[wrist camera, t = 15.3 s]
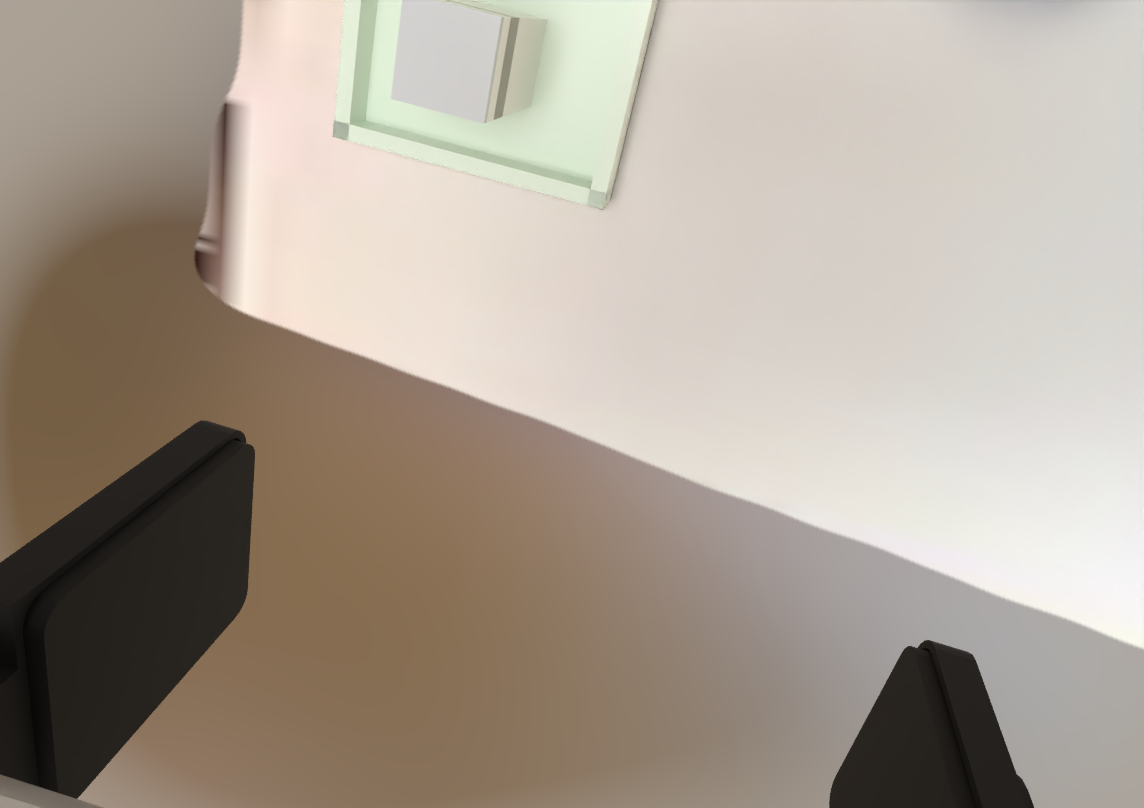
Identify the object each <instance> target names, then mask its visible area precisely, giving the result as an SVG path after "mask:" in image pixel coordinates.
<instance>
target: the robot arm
mask: <svg viewBox="0 0 1144 808" xmlns="http://www.w3.org/2000/svg"><path fill="white" fill-rule="evenodd" d="M254 463H255V450H254V448H253V446H251V445H249V444H246V438H245V435H244V434H243V433H242V432H241V431H238V430H235V429H232V428H229V427H225V426H222V425H219V424H216V423H212V422H209V421H199V422H197V423H195V424H194V425H193V426H191V427H190V428H188V429H187V430H186V431H184V432H183V433H181V434H180V435H179V436H177V437H176V438H174V439H173V440H172V441H170V442H169V443H167V444H166V445H165V446H163V447H162V448H160V449H159V450H158V451H156V452H155V453H153V454H152V455H151V456H149V457H148V458H147V459H145V460H144V461H142V462H141V463H140V464H138V465H137V466H135V467H134V468H133V469H131V470H130V471H128V472H127V473H125V474H124V475H123V476H121V477H120V478H118V479H117V480H116V481H114V482H113V483H111V484H110V485H109V486H107V487H106V488H104V489H103V490H102V491H100V492H99V493H98V494H96V495H95V496H93V497H92V498H90V499H89V500H88V501H86V502H85V503H83V504H82V505H81V506H79V507H78V508H76V509H75V510H74V511H72V512H71V513H69V514H68V515H67V516H65V517H64V518H63V519H61V520H60V521H58V522H57V523H55V524H54V525H53V526H51V527H50V528H48V529H47V530H46V531H44V532H43V533H41V534H40V535H39V536H37V537H36V538H34V539H33V540H32V541H30V542H29V543H27V544H26V545H25V546H23V547H22V548H20V549H19V550H18V551H16V552H15V553H13V554H12V555H11V556H9V557H8V558H6V559H5V560H4V561H2V562H1V563H0V808H103V807H100V806H97V805H94V804H91V803H87V802H84V801H81V800H78V799H77V798H78V797H79V796H80V795H81V794H82V793H83V792H84V790H85V789H86V788H87V787H88V786H89V785H90V784H91V782H92V781H93V780H94V779H95V778H96V776H98V774H99V773H100V772H101V771H102V770H103V769H104V768H105V766H106V765H107V764H108V763H109V762H110V760H111V759H112V758H113V757H114V756H115V755H116V754H117V753H118V751H119V750H120V749H121V748H122V747H123V746H124V744H125V743H126V742H127V741H128V740H129V739H130V738H131V737H132V735H133V734H134V733H135V732H136V731H137V730H138V729H139V727H140V726H141V725H142V724H143V723H144V722H145V720H146V719H147V718H148V717H149V716H150V715H151V714H152V712H153V711H154V710H155V709H156V708H157V707H158V706H159V704H160V703H161V702H162V701H163V700H164V699H165V698H166V696H167V695H168V694H169V693H170V692H171V691H172V690H173V688H174V687H175V686H176V685H177V684H178V683H179V682H180V680H181V679H182V678H183V677H184V676H185V675H186V674H187V672H188V671H189V670H190V669H191V668H192V667H193V665H194V664H195V663H196V662H197V661H198V660H199V659H200V657H201V656H202V655H203V654H204V653H205V651H207V649H208V648H209V647H210V646H211V645H212V644H213V643H214V641H215V640H216V639H217V638H218V637H219V636H220V634H221V633H222V632H223V631H224V630H225V629H226V628H227V627H228V625H229V624H230V623H231V622H232V621H233V620H234V618H235V617H236V616H237V614H238V613H239V612H240V610H241V608H242V606H243V604H244V602H245V599H246V595H247V590H248V573H249V554H250V536H251V518H252V499H253V481H254ZM829 805H830V808H1034V806H1033V803H1032V800H1031V798H1030V795H1029V792H1028V790H1027V788H1026V786H1025V784H1024V782H1023V780H1022V779H1021V778H1020V777H1019V776H1018V775H1017V774H1016V771H1015V769H1014V766H1013V763H1012V761H1011V758H1010V755H1009V752H1008V749H1007V746H1006V744H1005V741H1004V738H1003V735H1002V732H1001V730H1000V727H999V724H998V721H997V718H996V716H995V713H994V710H993V707H992V705H991V702H990V699H989V696H988V693H987V691H986V688H985V685H984V682H983V679H982V677H981V674H980V671H979V668H978V665H977V663H976V660H975V658H974V656H973V655H972V654H970V653H969V652H966V651H963V650H959V649H956V648H953V647H950V646H946V645H943V644H939V643H936V642H933V641H930V640H926V641H924V642H923V643H921V644H920V646H919V647H918V648H915V647H912V646H908V647H907V648H905V649H904V651H903V652H902V654H901V656H900V658H899V659H898V661H897V663H896V665H895V667H894V669H893V670H892V672H891V674H890V676H889V678H888V680H887V681H886V684H885V685H884V687H883V689H882V691H881V693H880V695H879V696H878V699H877V700H876V702H875V704H874V706H873V708H872V710H871V712H870V713H869V715H868V717H867V719H866V721H865V723H864V724H863V726H862V728H861V730H860V732H859V734H858V736H857V738H856V739H855V741H854V743H853V745H852V747H851V749H850V751H849V753H848V754H847V756H846V758H845V760H844V762H843V764H842V766H841V767H840V769H839V771H838V773H837V775H836V777H835V779H834V781H833V785H832V788H831V793H830V802H829Z"/></svg>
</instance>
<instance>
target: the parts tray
mask: <svg viewBox="0 0 1144 808" xmlns="http://www.w3.org/2000/svg"><path fill="white" fill-rule="evenodd" d="M474 1H478V2H482V3H486V4H490V5H494V6H498V7H501V8H505V9H509V10H513V11H517V12H521V13H525V14H529V15H533V16H537V17H541V18H545V19H547V23H546V28H545V34H544V39H543V44H542V49H541V55H540V60H539V65H538V71H537V76H536V81H535V87H534V92H533V97H532V102H531V107H529V108H526V109H523V110H520V111H517V112H515V113H512V114H509V115H506V116H504V117H501V118H498V119H495V120H492V121H490V122H487V123H480V122H476V121H472V120H468V119H465V118H461V117H457V116H453V115H450V114H446V113H442V112H438V111H435V110H431V109H427V108H423V107H419V106H416V105H412V104H408V103H404V102H401V101H397V100H393V99H391V94H392V85H393V77H394V68H395V59H396V51H397V42H398V33H399V25H400V16H401V7H402V0H345V1H344V12H343V24H342V35H341V47H340V59H339V70H338V82H337V93H336V105H335V116H334V128H333V137H336V138H340V139H344V140H347V141H351V142H355V143H358V144H362V145H366V146H369V147H373V148H377V149H380V150H384V151H388V152H392V153H395V154H399V155H403V156H406V157H410V158H414V159H417V160H421V161H425V162H429V163H432V164H436V165H440V166H443V167H447V168H451V169H454V170H458V171H462V172H465V173H469V174H473V175H477V176H480V177H484V178H488V179H491V180H495V181H499V182H502V183H506V184H510V185H513V186H517V187H521V188H525V189H528V190H532V191H536V192H539V193H543V194H547V195H550V196H554V197H558V198H561V199H565V200H569V201H573V202H576V203H580V204H584V205H587V206H591V207H595V208H598V209H602V210H603V208H604V207H605V206H606V205H607V203H608V202H609V201H610V199H611V195H612V191H613V186H614V182H615V178H616V174H617V170H618V166H619V162H620V158H621V153H622V149H623V145H624V141H625V137H626V133H627V129H628V124H629V120H630V116H631V112H632V108H633V104H634V100H635V96H636V91H637V87H638V83H639V79H640V75H641V71H642V67H643V62H644V58H645V54H646V50H647V46H648V42H649V38H650V34H651V29H652V25H653V21H654V17H655V13H656V9H657V5H658V1H659V0H474Z"/></svg>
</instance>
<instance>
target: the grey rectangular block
mask: <svg viewBox="0 0 1144 808" xmlns="http://www.w3.org/2000/svg"><path fill="white" fill-rule="evenodd" d="M546 23H547V19H545V18H541V17H537V16H533V15H529V14H525V13H521V12H517V11H513V10H509V9H505V8H501V7H498V6H494V5H490V4H486V3H482V2H478V1H474V0H402V7H401V16H400V25H399V33H398V42H397V51H396V59H395V68H394V77H393V85H392V94H391V99H393V100H397V101H401V102H404V103H408V104H412V105H416V106H419V107H423V108H427V109H431V110H435V111H438V112H442V113H446V114H450V115H453V116H457V117H461V118H465V119H468V120H472V121H476V122H480V123H487V122H490V121H492V120H495V119H498V118H501V117H504V116H506V115H509V114H512V113H515V112H517V111H520V110H523V109H526V108H529V107H531V102H532V97H533V92H534V87H535V81H536V76H537V71H538V65H539V60H540V55H541V49H542V44H543V39H544V34H545V28H546Z"/></svg>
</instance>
